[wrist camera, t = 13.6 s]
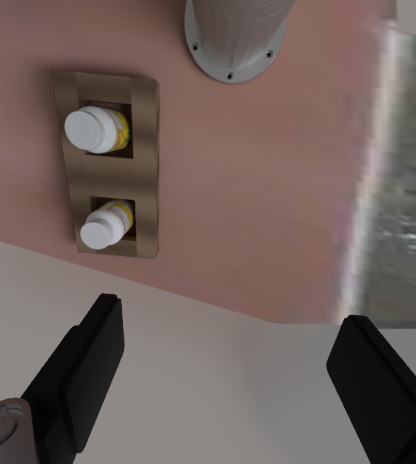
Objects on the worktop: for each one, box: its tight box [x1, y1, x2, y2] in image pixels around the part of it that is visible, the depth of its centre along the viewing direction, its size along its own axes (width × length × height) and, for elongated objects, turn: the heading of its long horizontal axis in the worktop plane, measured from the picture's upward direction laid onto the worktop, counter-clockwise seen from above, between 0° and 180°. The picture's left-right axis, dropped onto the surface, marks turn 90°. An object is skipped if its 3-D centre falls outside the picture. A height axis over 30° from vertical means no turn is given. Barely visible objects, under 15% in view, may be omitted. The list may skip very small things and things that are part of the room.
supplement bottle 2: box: [80, 198, 136, 249], centre depth 36 cm, size 5×5×10 cm
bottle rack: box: [51, 70, 159, 259], centre depth 36 cm, size 26×13×3 cm, turn 175°
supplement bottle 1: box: [65, 106, 133, 153], centre depth 31 cm, size 5×5×10 cm
